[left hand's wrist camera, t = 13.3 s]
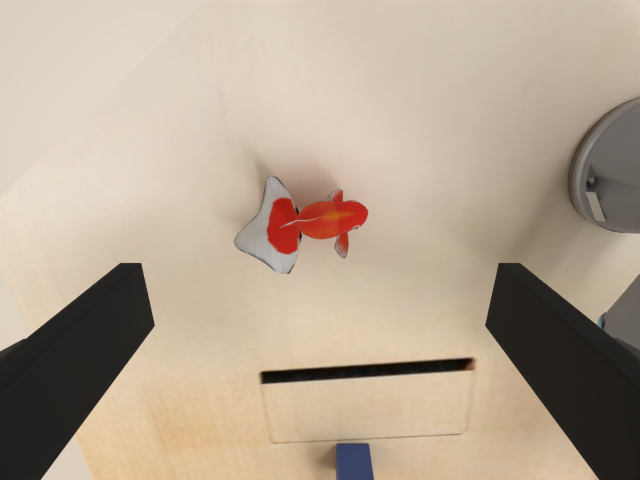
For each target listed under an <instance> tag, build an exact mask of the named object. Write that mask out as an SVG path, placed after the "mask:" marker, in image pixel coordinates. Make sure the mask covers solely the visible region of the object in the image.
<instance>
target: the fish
mask: <svg viewBox="0 0 640 480" xmlns="http://www.w3.org/2000/svg"><path fill="white" fill-rule="evenodd" d="M329 198H330V201H331V202H330V201H324V202H317V203H313V204H311V205H309V206H307V207H305V208H304V209H303V210H302V211H301V212H300V213H299V211H298V209H297V207H296V205H295V203H294V201H293V199H292V198H291V196H290V194H289V192H288V191H287V189H286V188H285V186H284V185H283V184H282V183H281V181H280V180H279V179H278V178H277V177H271V176H269V178H268V179H267V180H266V184H265V190H264V195H263V200H262V205H261V208H260V211H259V214H258V215H257V216H256V217H255V218H254V219H253V220H252V221H251V222H250V223H249V224H248V225H246V226H245V227H244V228H243V229H242V230H241V231H240V232H239V233H238V234H237V236H236V238H235V240H234V244H235V246H236V247H237V248H238V249H240V250H241V251H243V252H245V253H248V254H250V255H252V256H254V257H256V258H257V259H259V260H261V261H262V262H264V263H265V264H267V265H268V266H269V267H270V268H272V269H273V270H274V271H276V272H279V273H282V274H289V273H290V272H291V270H292V268H293V266H294V264H295V261H296V258H297V255H298V251H299V246H300V242H301V237H302V234H301V232H302V233H304V234H305V235H307V236H309V237H311V238H315V239H327V238H332V237H335V236H337V240H336V243H335V250H336V251H337V253H338V254H339V255H340V256H341V257H342V258H345V257H346V255H347V252H348V245H349V242H348V233H347V232H348V231H350V230H353V229H357V228H359V227H360V226H361V225H362V224H363V223H364V222H365V221H366V219H367V215H368V210H367V209H366V207H365V206H363V205H362V204H360V203H359V202H357V201H355V200H349V201H347V202H343V191H342V190H341V189H338V190H336V191H334V192H333V193H332V194H331V195H330V196H329Z"/></svg>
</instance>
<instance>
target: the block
mask: <svg viewBox="0 0 640 480" xmlns="http://www.w3.org/2000/svg"><path fill="white" fill-rule="evenodd" d="M336 480H374V477H373V470H372V463H371V456H370V449H369V444H337V453H336Z"/></svg>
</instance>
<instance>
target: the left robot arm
mask: <svg viewBox="0 0 640 480" xmlns="http://www.w3.org/2000/svg"><path fill="white" fill-rule="evenodd" d="M568 187H569V194H570V198H571V200H572V203H573V205H574V207H575V208H576V210H577V211H578V212H579V214H580V215H581V216H583V217H584V218H585V219H586V220H588V221H590V222H591V223H594V224H596V225H598V226H600V227H603V228H605V229H607V230H610V231H614V232H621V233H638V234H640V97H639V98H636V99H634V100H631V101H629V102H627V103H624V104H622V105H621V106H619V107H617V108H615V109H614V110H612V111H611V112H610V113H608V114H607V115H606V116H604V117H603V118H602V119H601V120H600V121H599V122H598V123H597V124H596V125H595V126H594V127H593V128H592V129H591V130H590V131H589V132H588V134H587V135H586V136H585V138H584V139H583V141H582V142H581V144H580V145H579V147H578V149H577V151H576V153H575V155H574V158H573V160H572V164H571V167H570V172H569V180H568ZM154 326H155V324H154V320H153V315H152V311H151V306H150V301H149V297H148V292H147V288H146V283H145V279H144V274H143V269H142V265H141V263H120V264H119V265H117V266H116V267H115V268H114V269H112V270H111V271H110V272H109V273H107V274H106V275H105V276H104V277H102V278H101V279H100V280H99V281H97V282H96V283H95V284H94V285H92V286H91V287H90V288H89V289H87V290H86V291H85V292H84V293H82V294H81V295H80V296H79V297H77V298H76V299H75V300H74V301H72V302H71V303H70V304H69V305H67V306H66V307H65V308H64V309H62V310H61V311H60V312H59V313H57V314H56V315H55V316H54V317H53V318H51V319H50V320H49V321H48V322H46V323H45V324H44V325H43V326H41V327H40V328H39V329H38V330H36V331H35V332H34V333H33V334H31V335H30V336H29V337H28V338H26V339H23V340H21V341H19V342H17V343H15V344H13V345H11V346H10V347H8V348H6V349H4V350H2V351H0V480H41V478H42V477H43V476H44V475H45V473H46V472H47V470H48V469H49V468H50V466H51V465H52V464H53V462H54V461H55V460H56V458H57V457H58V456H59V454H60V453H61V452H62V450H63V449H64V448H65V446H66V445H67V444H68V442H69V441H70V439H71V438H72V437H73V435H74V434H75V433H76V431H77V430H78V429H79V427H80V426H81V425H82V423H83V422H84V421H85V419H86V418H87V417H88V415H89V414H90V412H91V411H92V410H93V408H94V407H95V406H96V404H97V403H98V402H99V400H100V399H101V398H102V396H103V395H104V394H105V392H106V391H107V390H108V388H109V387H110V385H111V384H112V383H113V381H114V380H115V379H116V377H117V376H118V375H119V373H120V372H121V371H122V369H123V368H124V367H125V365H126V364H127V363H128V361H129V360H130V359H131V357H132V356H133V354H134V353H135V352H136V350H137V349H138V348H139V346H140V345H141V344H142V342H143V341H144V340H145V338H146V337H147V336H148V334H149V333H150V332H151V330H152V329H153V327H154ZM485 326H486V327H487V329H488V330H489V332H490V333H491V334H492V336H493V337H494V338H495V340H496V341H497V342H498V344H499V345H500V346H501V348H502V349H503V350H504V352H505V353H506V354H507V356H508V357H509V359H510V360H511V361H512V363H513V364H514V365H515V367H516V368H517V369H518V371H519V372H520V373H521V375H522V376H523V377H524V379H525V380H526V381H527V383H528V384H529V385H530V387H531V388H532V390H533V391H534V392H535V394H536V395H537V396H538V398H539V399H540V400H541V402H542V403H543V404H544V406H545V407H546V408H547V410H548V411H549V412H550V414H551V415H552V417H553V418H554V419H555V421H556V422H557V423H558V425H559V426H560V427H561V429H562V430H563V431H564V433H565V434H566V435H567V437H568V438H569V439H570V441H571V442H572V444H573V445H574V446H575V448H576V449H577V450H578V452H579V453H580V454H581V456H582V457H583V458H584V460H585V461H586V462H587V464H588V465H589V466H590V468H591V469H592V470H593V472H594V473H595V475H596V476H597V477H598V479H599V480H640V274H639V275H638V276H637V278H636V279H635V280H634V281H633V282H632V284H631V285H630V286H629V287H628V288H627V290H626V291H625V292H624V293H623V294H622V295H621V297H620V298H619V299H618V300H617V301H616V302H615V303H614V305H613V306H612V307H611V308H610V309H609V310H608V311H607V313H604V314H603V315H601V317H600V318H599V320H598V324H597V325H596V324H595V323H594V322H592V321H591V320H590V319H589V318H587V317H586V316H585V315H584V314H583V313H581V312H580V311H579V310H578V309H576V308H575V307H574V306H573V305H571V304H570V303H569V302H568V301H566V300H565V299H564V298H563V297H561V296H560V295H559V294H558V293H556V292H555V291H554V290H553V289H551V288H550V287H549V286H548V285H546V284H545V283H544V282H543V281H541V280H540V279H539V278H538V277H536V276H535V275H534V274H533V273H531V272H530V271H529V270H528V269H526V268H525V267H524V266H523V265H521V264H520V263H499V265H498V269H497V274H496V279H495V283H494V288H493V292H492V297H491V301H490V306H489V311H488V315H487V320H486V324H485Z"/></svg>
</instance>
